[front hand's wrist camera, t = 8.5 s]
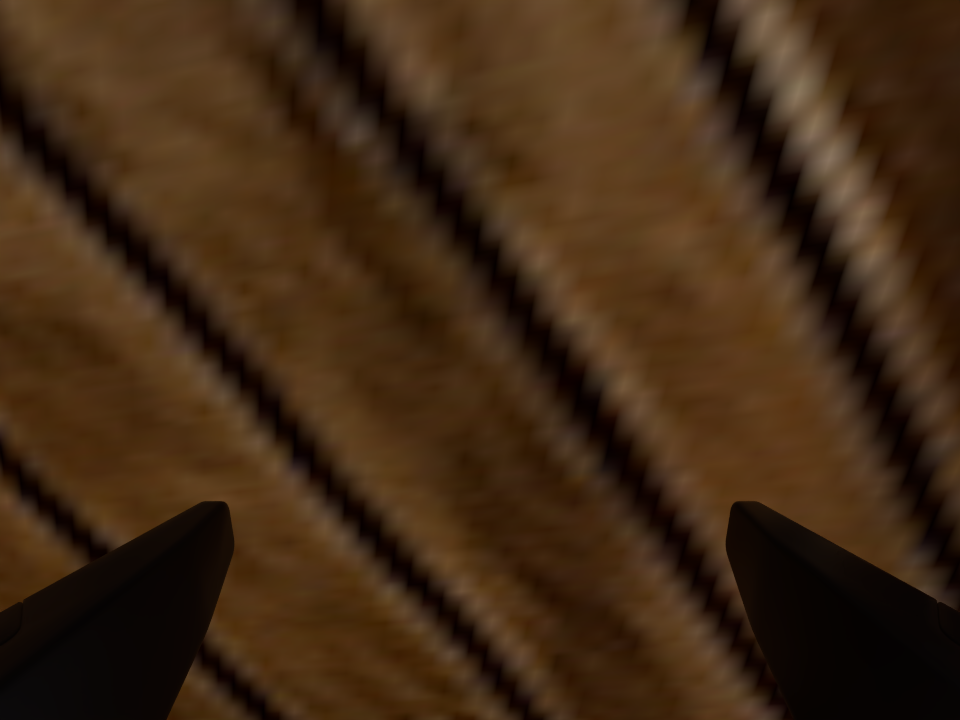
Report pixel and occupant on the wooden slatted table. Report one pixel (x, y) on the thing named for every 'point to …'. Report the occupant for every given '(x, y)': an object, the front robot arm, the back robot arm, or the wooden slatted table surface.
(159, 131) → the wooden slatted table surface
